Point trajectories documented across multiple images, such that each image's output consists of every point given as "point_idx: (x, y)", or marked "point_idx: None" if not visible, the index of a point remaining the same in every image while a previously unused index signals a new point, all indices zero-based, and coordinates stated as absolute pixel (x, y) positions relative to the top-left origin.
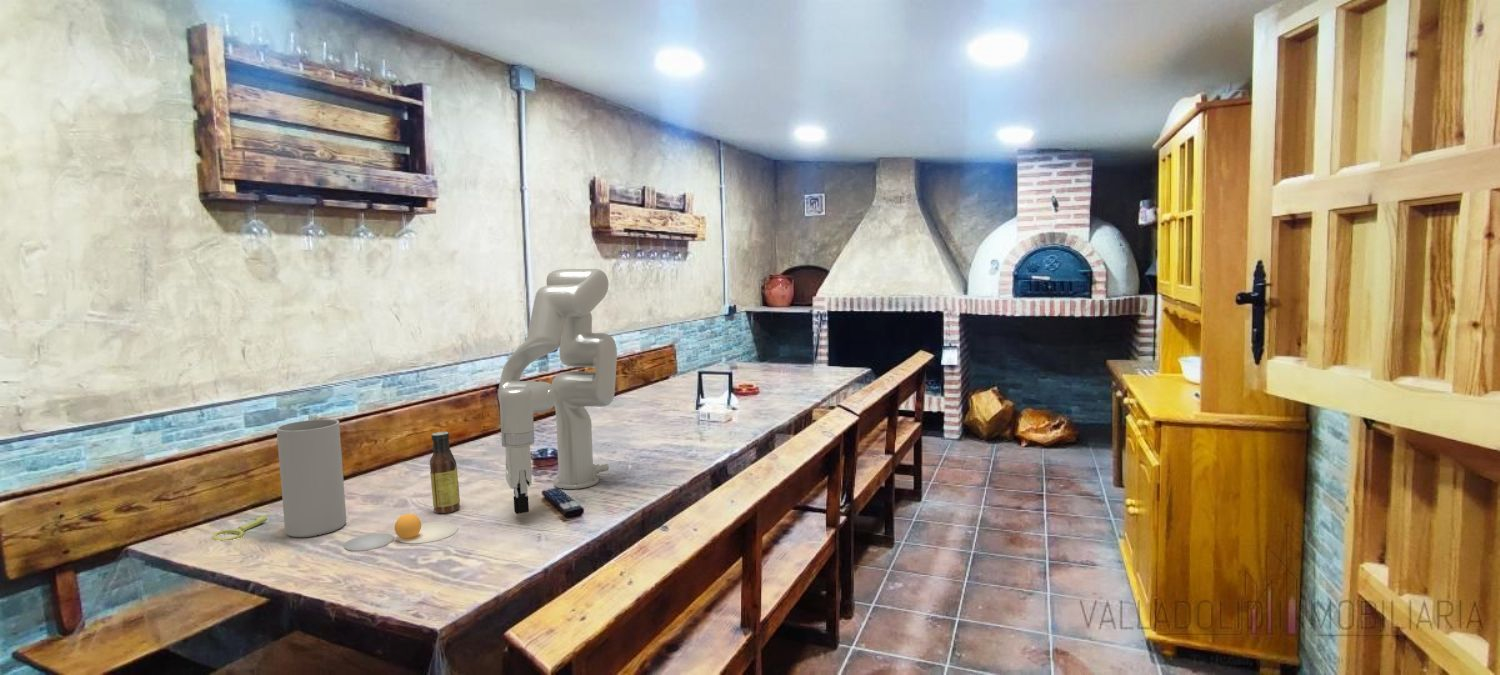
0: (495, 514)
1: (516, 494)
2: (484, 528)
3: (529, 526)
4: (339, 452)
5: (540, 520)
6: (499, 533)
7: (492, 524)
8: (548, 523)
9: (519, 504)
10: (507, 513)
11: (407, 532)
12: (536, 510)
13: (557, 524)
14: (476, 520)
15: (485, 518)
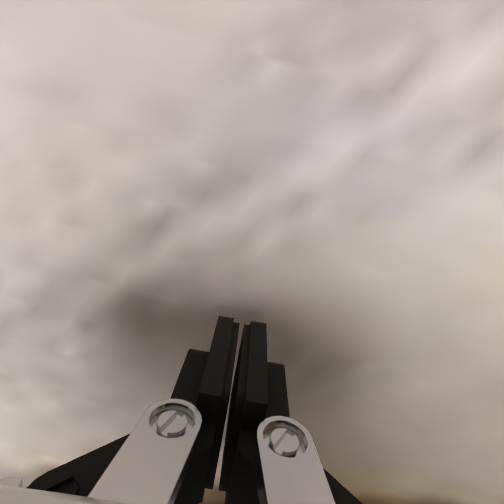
0: (428, 225)
1: (128, 439)
2: (186, 68)
3: (63, 320)
4: None
5: (132, 396)
6: (26, 130)
7: (235, 145)
8: (59, 410)
9: (178, 380)
10: (387, 294)
11: None
12: (315, 434)
13: (20, 437)
14: (404, 67)
15: (398, 140)
